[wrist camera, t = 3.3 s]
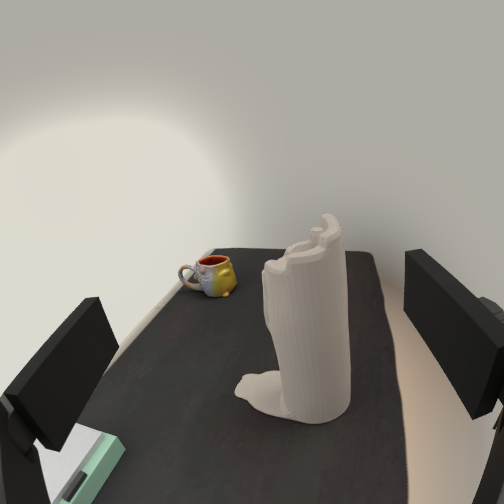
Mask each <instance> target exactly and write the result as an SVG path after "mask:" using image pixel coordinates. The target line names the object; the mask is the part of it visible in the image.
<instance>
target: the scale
mask: <svg viewBox="0 0 504 504" xmlns="http://www.w3.org/2000/svg"><path fill="white" fill-rule="evenodd" d="M34 445H35V446H36V447H37V450H38V452H39V457H40V462H41V467H42V471H43V475H44V480H45V484H46V487H47V491H48V495H49V498H50V502H51V504H91V503H92V502H93V500H94V499H95V497H96V495H97V494H98V492H99V491H100V489H101V488H102V486H103V484H104V483H105V481H106V480H107V478H108V477H109V475H110V473H111V472H112V470H113V469H114V467H115V466H116V464H117V462H118V461H119V459H120V458H121V456H122V455H123V453H124V451H125V450H126V449H125V447H124V446H123V445H122V443H121V442H120V440H119V439H118V438H117V436H113V435H110V434H107V433H104V432H101V431H97V430H94V429H91V428H88V427H86V426H83V425H80V424H77V423H75V425H74V427H73V429H72V431H71V433H70V434H69V436H68V438H67V440H66V442H65V444H64V446H63V448H62V450H61V451H60V452H56V451H52V450H48V449H45V448H44V447H43V445H42V444H41V443H40V442H39V441H38V439H37V440H36V442H35V443H34Z"/></svg>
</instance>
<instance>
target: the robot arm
mask: <svg viewBox="0 0 504 504" xmlns="http://www.w3.org/2000/svg"><path fill="white" fill-rule="evenodd" d="M404 290H405V291H404V312H405V313H406V314H407V316H408V317H409V319H410V320H411V322H412V323H413V325H414V326H415V328H416V329H417V331H418V332H419V334H420V335H421V337H422V338H423V340H424V341H425V343H426V344H427V346H428V347H429V349H430V350H431V352H432V354H433V355H434V357H435V358H436V360H437V361H438V363H439V364H440V366H441V368H442V369H443V371H444V373H445V374H446V376H447V377H448V379H449V381H450V382H451V384H452V386H453V387H454V389H455V391H456V392H457V394H458V396H459V397H460V399H461V401H462V403H463V404H464V406H465V408H466V410H467V411H468V413H469V415H470V417H471V418H472V420H474V419H477V418H479V417H481V416H483V415H486V414H488V413H490V412H492V411H493V408H494V406H495V404H496V402H497V399H498V398H499V400H500V401H501V403H502V404H503V408H502V410H501V413H500V415H499V417H498V419H497V421H496V423H495V425H494V427H493V429H496V427H497V429H496V433H495V437H494V440H493V444H492V448H491V451H490V455H489V458H488V461H487V464H486V467H485V470H484V473H483V476H482V479H481V482H480V484H479V487H478V490H477V492H476V495H475V498H474V500H473V503H472V504H504V312H503V309H502V308H500V307H499V306H498V305H497V304H496V303H495V302H493V301H491V300H489V299H487V298H485V297H481V298H477V297H475V296H474V295H473V294H472V293H471V292H470V291H469V290H468V289H467V288H466V287H465V286H464V285H463V284H461V283H460V282H459V281H458V280H457V279H456V278H455V277H454V276H453V275H451V274H450V273H449V272H448V271H447V270H446V269H445V268H443V267H442V266H441V265H440V264H439V263H438V262H437V261H435V260H434V259H433V258H432V257H431V256H429V255H428V254H427V253H426V252H425V251H424V250H422V249H417V250H411V251H405V287H404ZM118 349H119V345H118V343H117V340H116V338H115V336H114V334H113V331H112V329H111V326H110V324H109V322H108V319H107V317H106V314H105V312H104V310H103V307H102V304H101V302H100V300H99V297H91V298H85V299H84V300H83V301H82V302H81V303H80V305H79V306H78V307H77V308H76V309H75V310H74V311H73V312H72V313H71V314H70V315H69V316H68V318H67V319H66V320H65V321H64V322H63V323H62V324H61V325H60V326H59V327H58V329H57V330H56V331H55V332H54V333H53V334H52V335H51V336H50V337H49V339H48V340H47V341H46V342H45V343H44V344H43V345H42V347H41V348H40V349H39V350H38V351H37V353H36V354H35V355H34V356H33V357H32V358H31V359H30V361H29V362H28V363H27V364H26V366H25V367H24V368H23V369H22V370H21V371H20V373H19V374H18V375H17V376H16V377H15V379H14V380H13V381H12V383H11V384H10V385H9V386H8V387H7V389H6V390H5V391H4V393H3V394H2V396H1V397H0V504H51V502H50V498H49V495H48V491H47V487H46V484H45V480H44V475H43V471H42V467H41V462H40V457H39V452H38V450H37V447H36V446H35V445H34V444H33V443H34V441H35V440H36V438H37V439H38V441H39V442H40V443H41V444H42V445H43V447H44V448H45V449H48V450H52V451H56V452H60V451H61V450H62V448H63V446H64V444H65V442H66V440H67V438H68V436H69V434H70V433H71V431H72V429H73V427H74V425H75V423H76V421H77V420H78V418H79V416H80V414H81V412H82V411H83V409H84V407H85V405H86V403H87V402H88V400H89V398H90V396H91V395H92V393H93V391H94V389H95V388H96V386H97V384H98V382H99V381H100V379H101V377H102V375H103V374H104V372H105V370H106V369H107V367H108V365H109V364H110V362H111V360H112V359H113V357H114V355H115V354H116V352H117V350H118Z"/></svg>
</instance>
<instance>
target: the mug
mask: <svg viewBox="0 0 504 504" xmlns="http://www.w3.org/2000/svg"><path fill="white" fill-rule="evenodd" d="M196 267H197V269H196V268H195V267H193V266H190V265H184V266H182V267H181V268H180V269H179V271H178V276H179V279H180V280H181V282H182V283H183V284H184V285H186V286H187V287H189V288H191V289H194V290H199V291H203V292H204V293H205V294H206V295H208V296H210V297H221V296H224V297H226V296H229V293H230V292H232V291H233V290H234V288H235V285H236V284H237V282H236V277H235V273H234V271H233V269H232V264H231V263H230V261H229V258H228V257H226V256H219V255H212V256H207V257H205V258H202V259H200V260H198V261H197V262H196ZM183 269H190V270H192V271H194V272H195V273H196V274H195V275H194V279H196V280H198V281H199V284H192V283H190V282H188V281H187V280H186V279H185V278H184V277H183V275H182V271H183Z"/></svg>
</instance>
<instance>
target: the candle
mask: <svg viewBox="0 0 504 504" xmlns="http://www.w3.org/2000/svg"><path fill="white" fill-rule="evenodd" d="M321 223H322V228H318V227H315V228H312V231H311V239H310V240H306V241H301V242H298V243H296V244H294V245H292V246H290V247H288V248H287V249H286V251H285V254H284V256H283V257H282V258H280V259H278V260H277V261H276V260H269V261H267V262H266V263H265V270H263V271H262V282H263V295H264V315H265V320H266V325H267V327H268V329H269V331H270V332H271V335H272V338H273V342H274V346H275V350H276V354H277V358H278V363H279V369H280V371H269V372H265V373H263V374H259V375H257V374H247V375H244V376H243V377H242V378H243V379H242V380H241V381H240V382H239V383H238V385H237V387H236V389H235V395H236V396H238V397H240V398H243V399H245V400H248V402H249V403H250V404H251V405H252V406H253V407H254V408H255V409H257V410H259V411H261V412H263V413H265V414H268V415H272V416H276V417H281V418H285V419H291V420H296V421H300V422H303V423H308V424H320V423H325V422H329V421H332V420H334V419H336V418H338V417H339V416H340V415H342V414H343V413H344V412H345V411H346V409H347V408H348V406H349V403H350V348H349V332H348V297H347V275H346V260H345V249H344V239H343V233H342V229H341V226H340V224H339V223H338V221H337V219H336V218H335V217H334V216H333V215H331V214H327V213H324V214H323V215H322V216H321Z"/></svg>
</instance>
